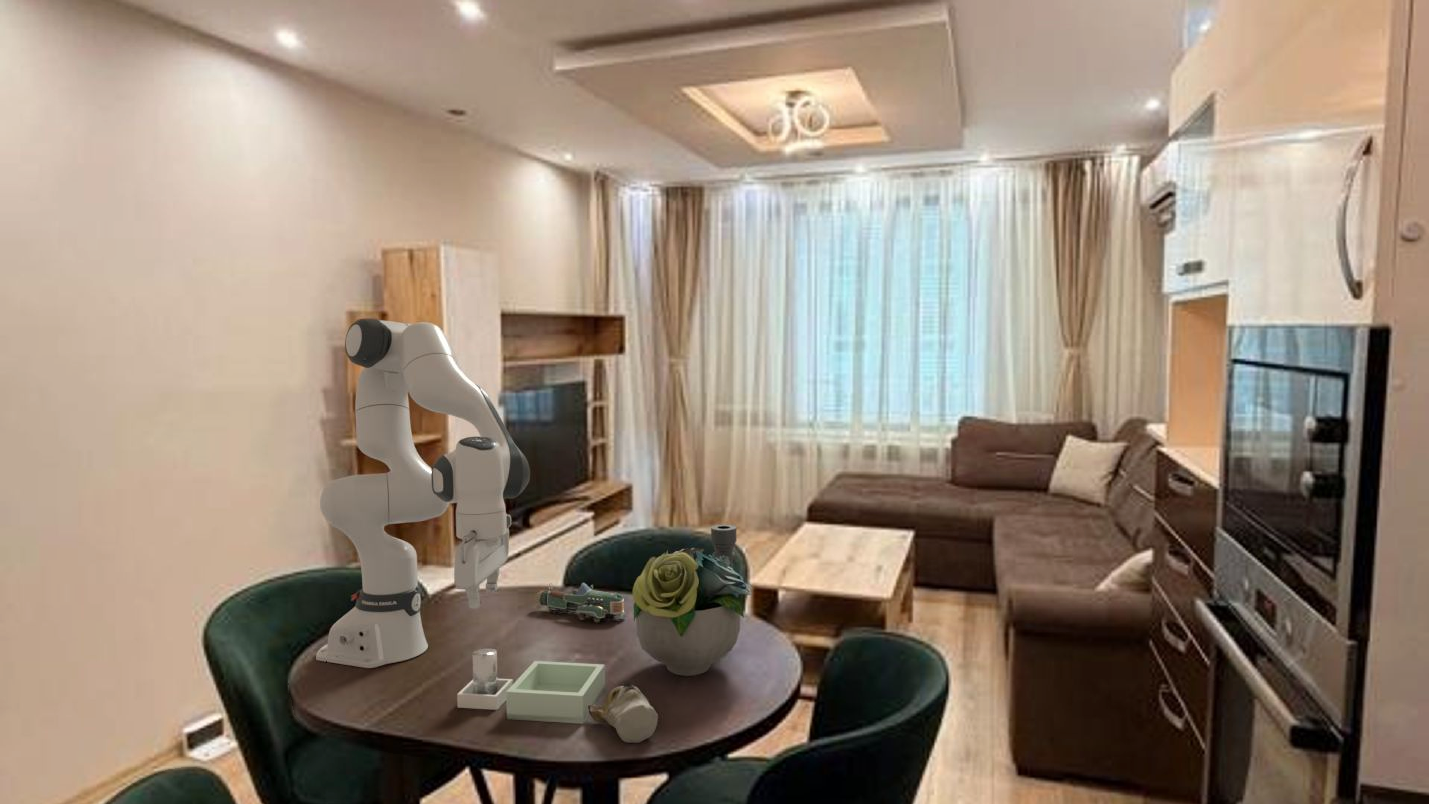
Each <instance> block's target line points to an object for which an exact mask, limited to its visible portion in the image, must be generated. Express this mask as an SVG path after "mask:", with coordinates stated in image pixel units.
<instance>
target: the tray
mask: <svg viewBox="0 0 1429 804" xmlns="http://www.w3.org/2000/svg"><path fill="white" fill-rule="evenodd" d="M605 691H606V665H605V664H602V663H586V662H585V663H580V662H563V661H562V662H561V661H560V662H559V661H545V660H543V661H542V660H541V661H540V660H534V661H533V662H532V663H531V665H529V667H528V668H526V669H525V671H524V672H523V673H522V674H521V675H520V676H519V677H518V678H517V679H516V681H515V682H513V685H512V686H511V687H510V688H509V689H508V690H507V691H506V701H505V702H506V719H507V720H517V721H519V720H520V721H532V722H535V721H536V722H537V721H538V722H549V723H550V722H551V723H564V724H565V723H566V724H567V723H568V724H581V725H582V724H584V723H585V722H586V720H587V719H588V717H590V713H589V709H588V705H590V706H595V707H596V706H597V703H598V702H599V700H600V699H601V697H602V696H603V694H604V692H605Z"/></svg>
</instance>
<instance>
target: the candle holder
mask: <svg viewBox="0 0 1429 804" xmlns="http://www.w3.org/2000/svg"><path fill="white" fill-rule="evenodd" d="M710 541H711V543H712V547H713V549H714V552H713V553H712V554H711V556H712V555H713V556H715V557H716V558H717V559H718V558H719V557H720V556H721V557H722V559H723V560H724V558H723V556H727V557H728V558H729V561H730V565H729V567H730V568H732V570H734V569H733V565H734V564H733V560H734V559H735V558H736V553H735V552H734V551H733V550H734V548H735V546H736V542H737V526H736V525H733V524H716V525H712V526H711V527H710ZM736 597H738V598H739V595H737V596H736Z"/></svg>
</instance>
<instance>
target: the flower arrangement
mask: <svg viewBox="0 0 1429 804" xmlns="http://www.w3.org/2000/svg"><path fill="white" fill-rule="evenodd" d="M705 550H706V549H705V548H700V547H699V548H698V547H697V548H696V547H692V548H682V549H680V550H679V551H677V550H676V551H674V552H671V553H670V554H669V553H668V552H669V551H668V550H667V551H666V552H663V553H661V555H659V556H658V557H655V556H651V557H650V558H649V560H648V561H647V562H646V564H645V566H644V568H643V570H642V572H641V574H640V575H639V576H638V577H636V580H635V582H634V583H633V587H632V598H633V600H634V603H633V622H635V623H636V632H637V633H636V634H637V637H638V641H639V644H640V646H641V649H642V650H643V651H644V652H645V653H646V654H648V655H649V656H650V657H651V658H653V659H654V660H656V661H657V662H659V663H661V664H664V665H666V667H667V668H666V669H667V670H668V671H669V672H670V673H672V674H674V675H677V676H683V677H688V676H689V677H690V676H691V677H692V676H698V675H702V674H704V673H706V672H707V671H708V670H709V668H710V667H711V664H713V663H715V662H717V661H719V660H722V659H724V657H726V655H728V654H729V653H730V652H731V651H732V649H733V648H734V647H735V645H736V643H737V640H738V638H737V637H739V634H740V631H741V617H742V618H745V614H744V611H743V604H742V600H741V599H740V598H739V595H741V594H742V595H748V596H752V594H751V591H753V588H752V585H750V584H748V583H746V582H744V577H743V576H742V575H741V574H739V573H737V572H736V571H735V570H734V569H733V570H732V568H730V567H729V565H730V561H729V558H728V557H727V556H723V558H724V560H723V559H722V557H721V556H720V557H719V558H718V559H717V558H716V557H715V556H713V555H712V554H708V556H707V555H706V552H705ZM749 589H751V591H750V590H749ZM737 595H738V597H736V596H737Z"/></svg>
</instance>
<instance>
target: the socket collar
mask: <svg viewBox="0 0 1429 804" xmlns="http://www.w3.org/2000/svg"><path fill="white" fill-rule="evenodd" d="M513 684H514V679H512V678H498V692H497V693H496V694H495V695H487V694H474V693H473V679H472V680H470V681H469V682H468V683H467V684H466V685H465V686H464V687H463V688H462V689H461V690H460V691H459V692H457V694H456V696H457V697H456V701H457V705H456V706H457V708H459V709H461V708H463V709H476V710H495V711H497V710H499V708H500V707H501V706H502V705H503V704H504V703H505V702H506V691H507V690H508V689H509V688H510V687H511V686H512V685H513Z"/></svg>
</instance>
